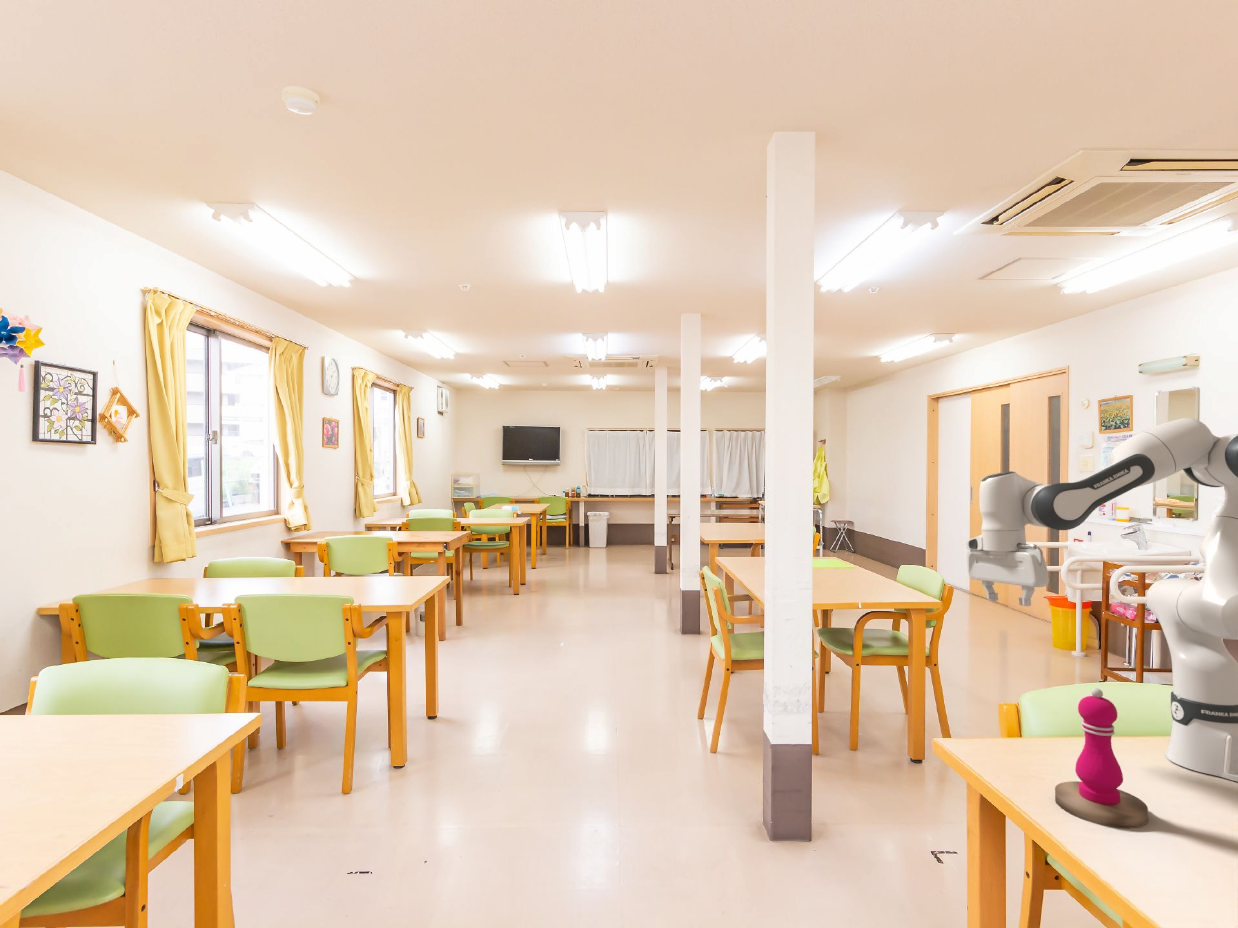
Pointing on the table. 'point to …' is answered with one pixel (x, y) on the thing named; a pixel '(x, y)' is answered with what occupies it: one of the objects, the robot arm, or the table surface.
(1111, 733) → the pepper mill
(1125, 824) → the walnut board
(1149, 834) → the table surface
